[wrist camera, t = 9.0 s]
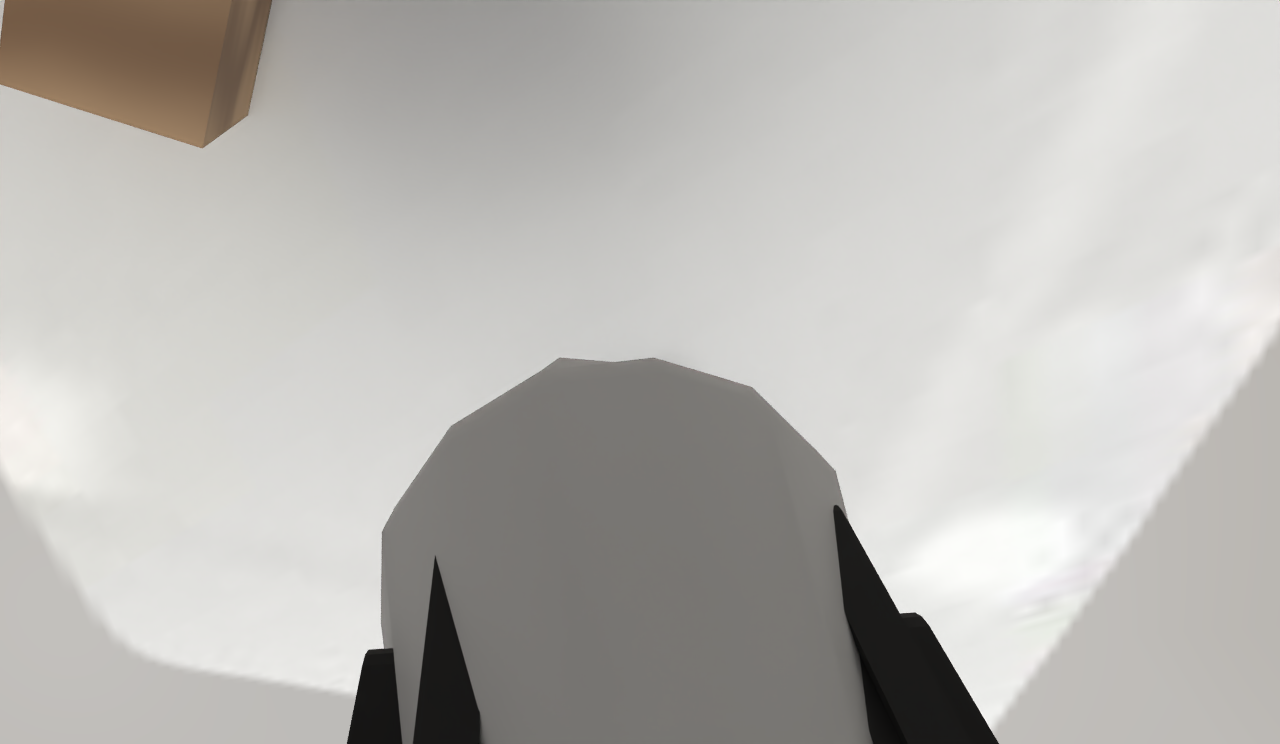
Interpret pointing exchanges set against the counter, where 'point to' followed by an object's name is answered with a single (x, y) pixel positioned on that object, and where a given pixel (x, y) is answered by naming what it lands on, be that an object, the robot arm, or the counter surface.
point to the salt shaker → (629, 565)
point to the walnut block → (139, 60)
